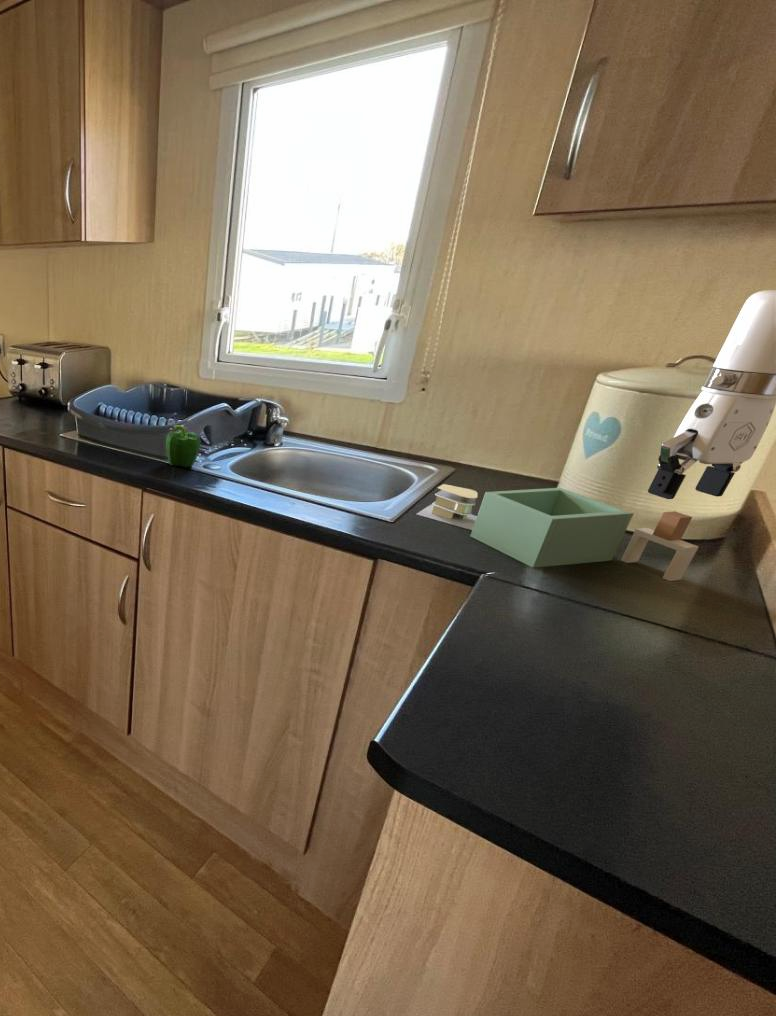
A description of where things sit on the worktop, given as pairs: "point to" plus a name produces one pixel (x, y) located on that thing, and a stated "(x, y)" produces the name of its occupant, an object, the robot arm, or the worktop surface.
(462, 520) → the stacked layers on plate
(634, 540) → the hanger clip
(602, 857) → the worktop surface
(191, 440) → the bell pepper
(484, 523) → the tote
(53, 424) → the worktop surface
